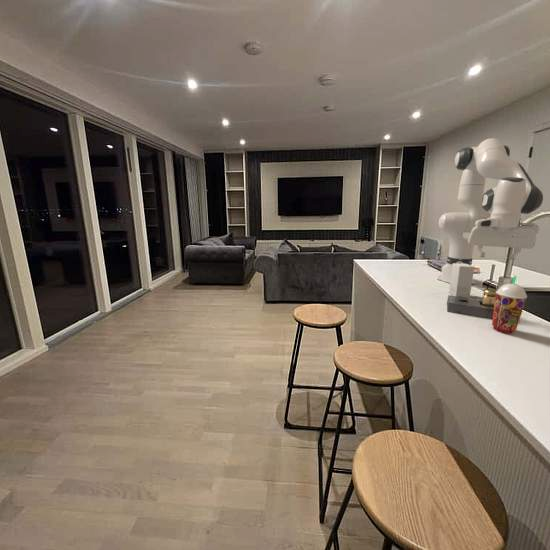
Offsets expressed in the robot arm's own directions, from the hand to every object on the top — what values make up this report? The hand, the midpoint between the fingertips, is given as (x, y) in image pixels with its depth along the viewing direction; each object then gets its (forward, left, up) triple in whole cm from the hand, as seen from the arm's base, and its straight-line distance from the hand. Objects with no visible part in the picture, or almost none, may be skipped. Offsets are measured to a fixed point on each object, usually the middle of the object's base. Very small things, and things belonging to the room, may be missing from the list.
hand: (496, 258), depth 110 cm
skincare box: (-20, -9, -23) cm, 32 cm away
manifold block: (+1, -4, -23) cm, 23 cm away
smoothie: (+17, +3, -23) cm, 29 cm away
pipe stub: (+1, 0, -23) cm, 23 cm away
